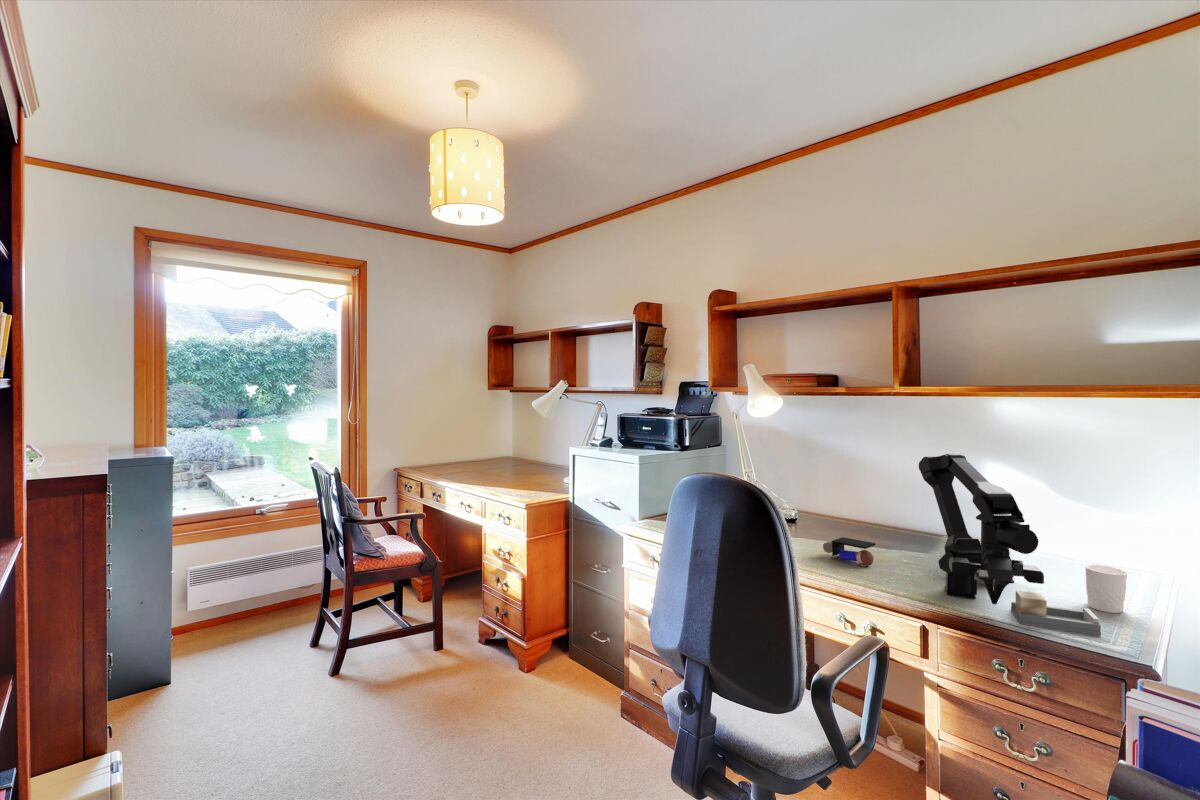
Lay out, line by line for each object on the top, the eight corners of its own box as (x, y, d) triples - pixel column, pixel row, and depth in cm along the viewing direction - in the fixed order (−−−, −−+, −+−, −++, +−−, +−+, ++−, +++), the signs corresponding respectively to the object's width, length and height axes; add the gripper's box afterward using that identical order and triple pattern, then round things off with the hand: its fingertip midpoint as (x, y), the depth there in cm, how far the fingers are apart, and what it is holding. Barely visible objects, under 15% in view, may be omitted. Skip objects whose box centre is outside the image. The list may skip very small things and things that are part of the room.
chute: (1020, 623, 133) (1020, 610, 133) (1010, 610, 141) (1011, 597, 141) (1100, 635, 126) (1101, 621, 126) (1086, 620, 134) (1086, 606, 134)
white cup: (1105, 601, 146) (1106, 564, 146) (1135, 614, 138) (1136, 574, 138) (1076, 602, 146) (1077, 564, 145) (1104, 614, 138) (1105, 574, 138)
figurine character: (822, 562, 184) (867, 569, 172) (820, 539, 184) (864, 544, 172) (834, 558, 188) (878, 565, 176) (832, 535, 188) (876, 540, 176)
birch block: (1020, 617, 134) (1020, 597, 134) (1015, 610, 139) (1015, 590, 139) (1046, 621, 132) (1046, 600, 132) (1040, 613, 137) (1040, 593, 137)
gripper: (955, 545, 135) (954, 609, 135) (1051, 555, 127) (1050, 623, 127) (949, 534, 145) (948, 593, 145) (1037, 542, 137) (1036, 605, 137)
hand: (993, 603), depth 139 cm, fingers closed
